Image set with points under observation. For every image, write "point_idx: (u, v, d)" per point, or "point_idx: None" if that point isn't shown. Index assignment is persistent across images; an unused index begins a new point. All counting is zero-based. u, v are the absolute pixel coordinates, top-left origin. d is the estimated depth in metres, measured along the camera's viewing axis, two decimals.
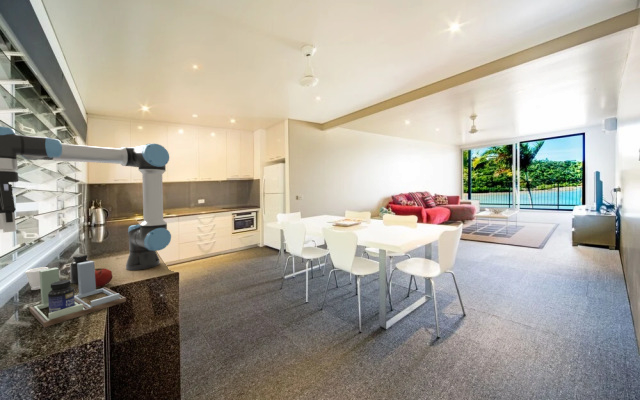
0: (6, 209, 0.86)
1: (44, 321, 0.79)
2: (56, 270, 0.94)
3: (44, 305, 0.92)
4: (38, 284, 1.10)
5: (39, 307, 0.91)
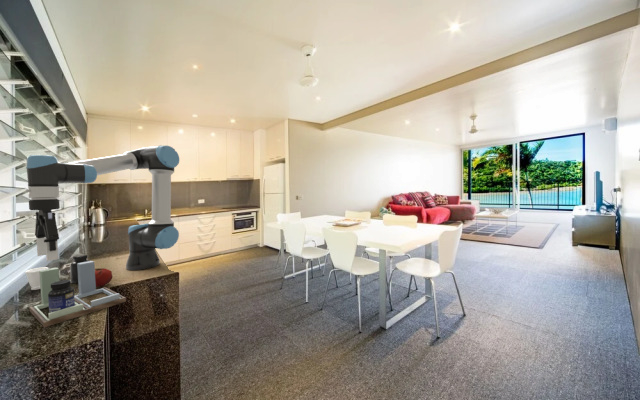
0: (51, 238, 0.87)
1: (44, 321, 0.79)
2: (56, 270, 0.94)
3: (44, 305, 0.92)
4: (38, 284, 1.10)
5: (39, 307, 0.91)
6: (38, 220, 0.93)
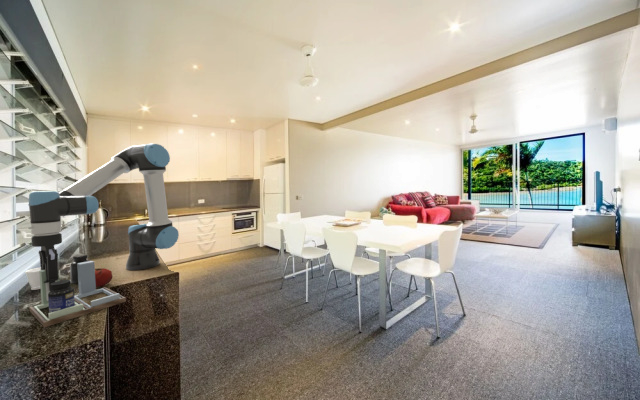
0: (50, 279, 0.91)
1: (44, 321, 0.79)
2: None
3: (44, 305, 0.92)
4: (38, 284, 1.10)
5: (39, 307, 0.91)
6: None
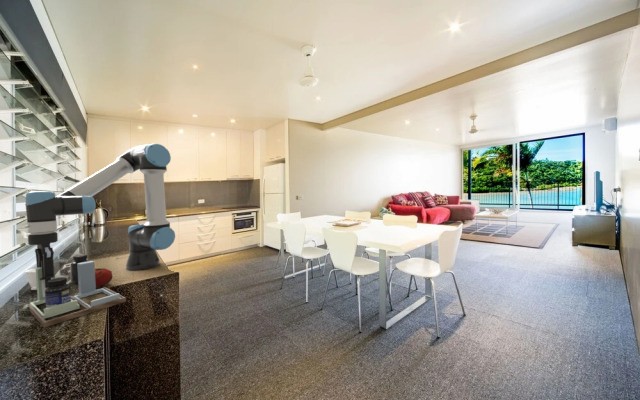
0: (46, 276, 0.94)
1: (44, 321, 0.79)
2: None
3: (40, 301, 0.95)
4: None
5: (35, 303, 0.94)
6: None
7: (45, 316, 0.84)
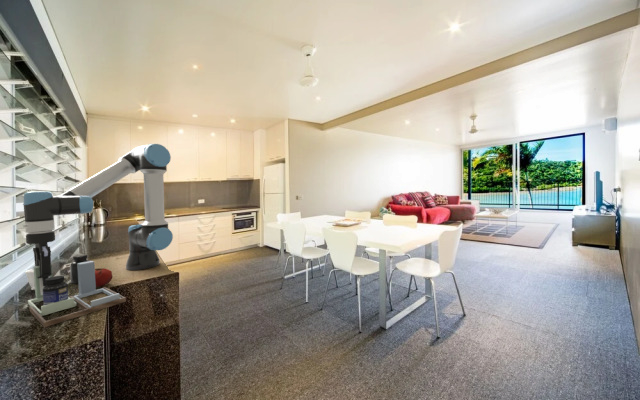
0: (44, 275, 0.96)
1: (44, 321, 0.79)
2: None
3: (38, 299, 0.97)
4: None
5: (33, 301, 0.96)
6: None
7: (42, 313, 0.86)
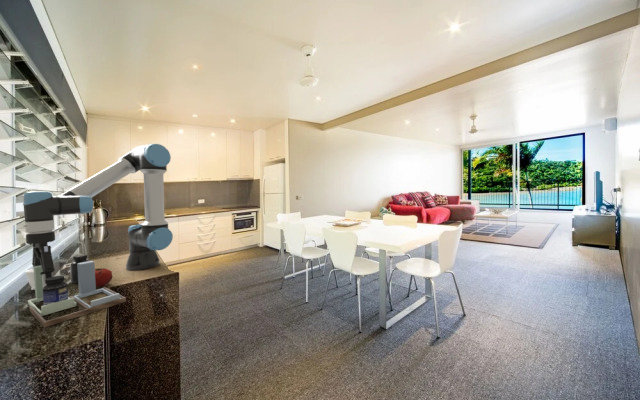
0: (47, 271, 0.93)
1: (44, 321, 0.79)
2: None
3: (38, 299, 0.97)
4: None
5: (33, 301, 0.96)
6: (35, 252, 0.98)
7: (42, 313, 0.86)
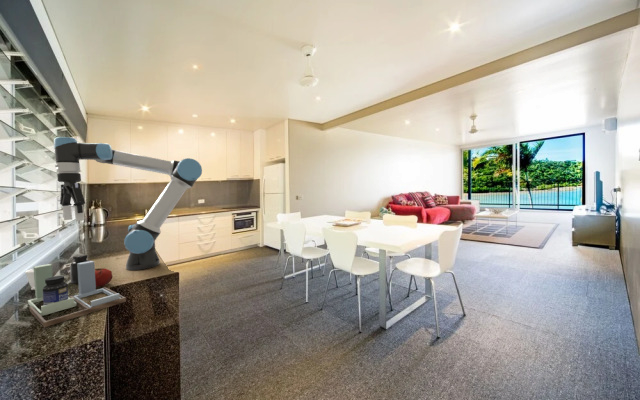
0: (79, 202, 1.10)
1: (44, 321, 0.79)
2: (49, 266, 1.00)
3: (38, 299, 0.97)
4: None
5: (33, 301, 0.96)
6: (65, 190, 1.15)
7: (42, 313, 0.86)
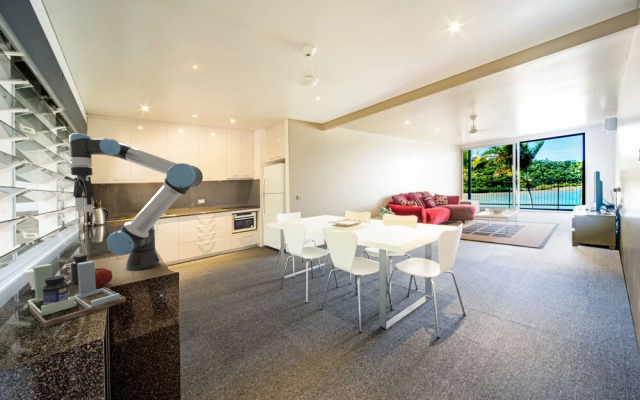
0: (88, 195, 1.18)
1: (44, 321, 0.79)
2: (49, 266, 1.00)
3: (38, 299, 0.97)
4: None
5: (33, 301, 0.96)
6: (77, 183, 1.24)
7: (42, 313, 0.86)
